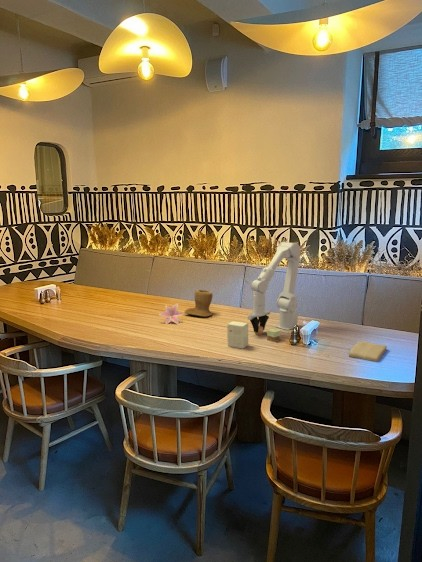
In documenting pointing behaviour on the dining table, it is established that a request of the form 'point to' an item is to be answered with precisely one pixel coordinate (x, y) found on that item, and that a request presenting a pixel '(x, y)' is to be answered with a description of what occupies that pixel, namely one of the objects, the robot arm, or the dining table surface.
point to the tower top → (274, 332)
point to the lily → (171, 314)
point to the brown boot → (201, 304)
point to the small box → (237, 334)
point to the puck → (259, 331)
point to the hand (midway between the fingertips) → (259, 330)
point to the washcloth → (367, 351)
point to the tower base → (273, 338)
